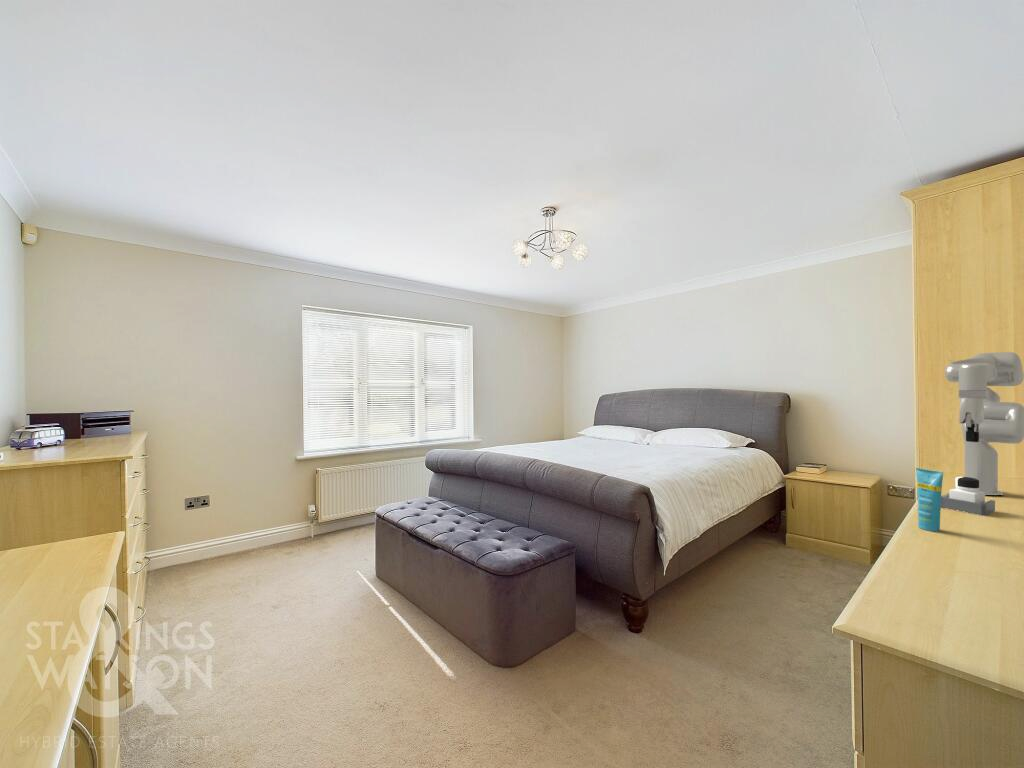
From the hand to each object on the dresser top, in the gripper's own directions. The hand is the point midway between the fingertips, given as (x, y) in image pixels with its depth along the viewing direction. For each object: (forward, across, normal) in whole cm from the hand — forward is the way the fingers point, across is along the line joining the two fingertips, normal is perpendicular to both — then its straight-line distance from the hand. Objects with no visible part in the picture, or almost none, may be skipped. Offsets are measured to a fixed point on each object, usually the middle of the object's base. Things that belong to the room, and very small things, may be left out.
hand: (972, 441), depth 166 cm
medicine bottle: (+24, +16, +2) cm, 29 cm away
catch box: (+24, +15, +2) cm, 28 cm away
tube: (+23, +56, +3) cm, 61 cm away
